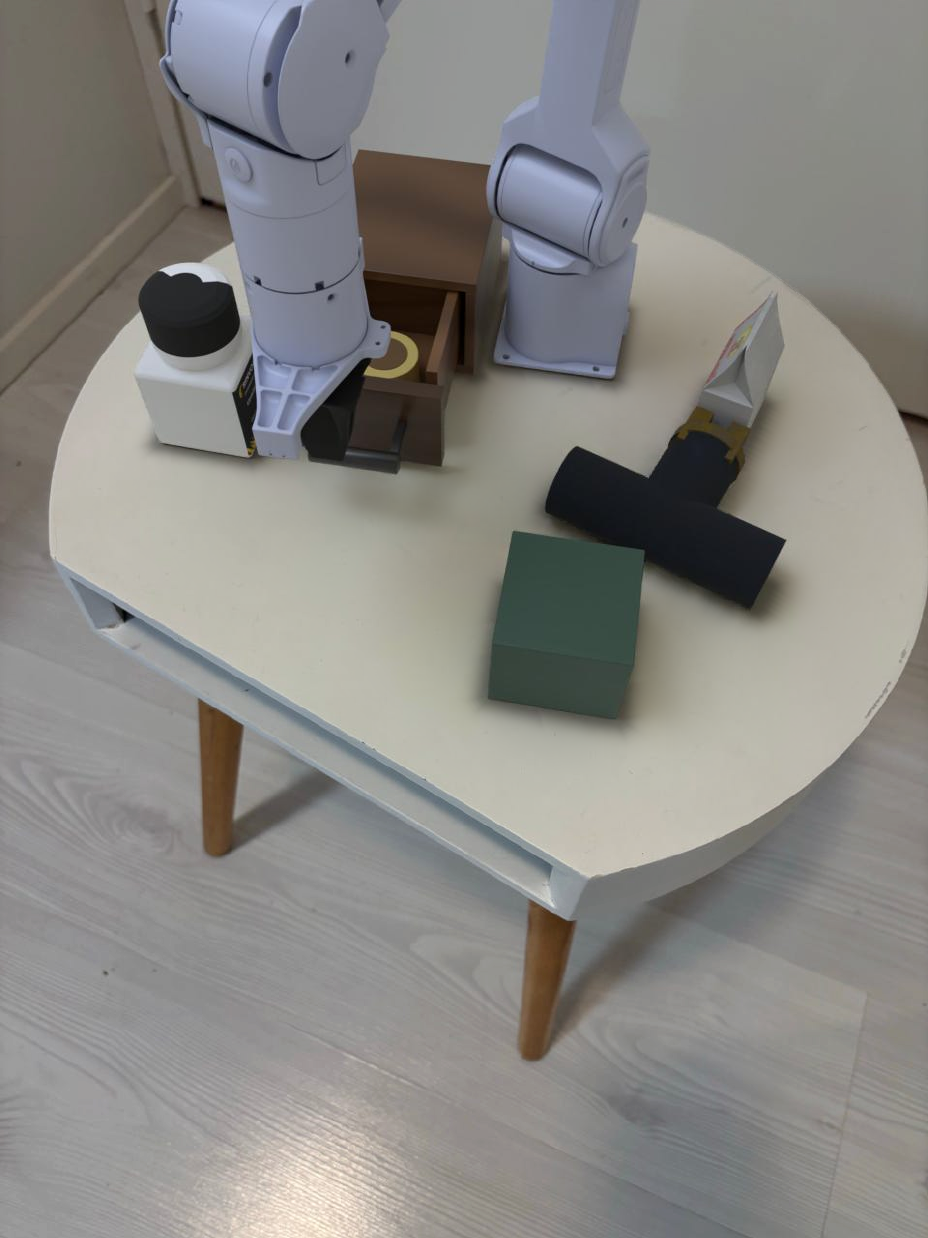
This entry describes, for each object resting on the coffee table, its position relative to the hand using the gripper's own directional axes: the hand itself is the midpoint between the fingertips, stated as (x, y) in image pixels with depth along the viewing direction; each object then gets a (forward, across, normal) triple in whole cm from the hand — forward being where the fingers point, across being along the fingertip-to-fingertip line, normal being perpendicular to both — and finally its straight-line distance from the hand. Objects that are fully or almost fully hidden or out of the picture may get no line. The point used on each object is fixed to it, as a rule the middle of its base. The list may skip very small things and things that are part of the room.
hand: (330, 446), depth 57 cm
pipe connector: (+11, +7, -22) cm, 25 cm away
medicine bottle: (+11, +10, +12) cm, 19 cm away
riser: (+10, -6, -15) cm, 19 cm away
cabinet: (+10, +24, 0) cm, 27 cm away
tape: (+8, +14, 0) cm, 16 cm away
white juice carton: (+11, +16, -25) cm, 32 cm away
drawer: (+9, +12, 0) cm, 15 cm away
